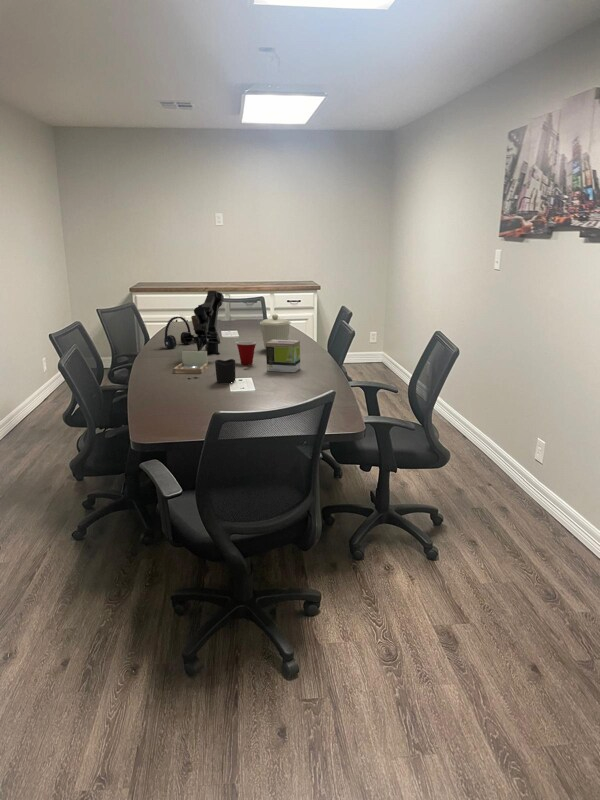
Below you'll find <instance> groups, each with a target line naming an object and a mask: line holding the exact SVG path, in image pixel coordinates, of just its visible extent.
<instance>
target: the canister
mask: <svg viewBox="0 0 600 800" xmlns="http://www.w3.org/2000/svg"><path fill="white" fill-rule="evenodd" d="M291 323H292V322H291V321H290V320H288V319H286V318H280V317H279V315H278V314H272V315H271V318H266V319H262V320H261V321H260V322H259V324H260V328H261V333H262V334H261V335H262V341H263V346H264V347H263V348H264V349H265V350H266V343H267V342H269V341H271V340H289V335H290V325H291Z"/></svg>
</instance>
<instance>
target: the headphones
mask: <svg viewBox="0 0 600 800" xmlns="http://www.w3.org/2000/svg"><path fill="white" fill-rule="evenodd" d="M177 319H181V320H182V321H183V322H184V323H185V325H186V328H187V332H191V328H190V326H189V322H188V321H187V320H186V319H185V318H184V317H182V316H173V317H171V318H170V319H169V320H168V322H167V324H166V326H165V330H164V339H163V343H164V346H165V347H166V348H168V349H171V348H172V349H174V348H176V347H177V339H176V337H175V336H174V335H173V334H172V335H171V334H169V335H168V332H169V327H170V325H171V323H172V322H173V321H174V320H177ZM184 332H185V331H183V332H182V333H180V343H181V344H182V345H190V344H191V342H185V341H184V339H183V337H182V336H183V333H184Z"/></svg>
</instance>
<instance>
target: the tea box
mask: <svg viewBox="0 0 600 800" xmlns="http://www.w3.org/2000/svg"><path fill="white" fill-rule="evenodd" d="M265 355H266V356H265V357H266V358H265V359H266V371H267V372H268V371H269V372H281V373H296V372H298V371H299V370H300V369H301V343H300V340H298V339H297V340H295V339H294V340H292V339H288V340H271V341H269V342H267V343H266V349H265Z"/></svg>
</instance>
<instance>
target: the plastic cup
mask: <svg viewBox="0 0 600 800" xmlns="http://www.w3.org/2000/svg"><path fill="white" fill-rule="evenodd" d="M235 344H236V346H237V350H238V355H239V359H240V363H241V366H251V364H252V365H253V361H254V357H255V356H254V355H255V348H256V346H257V342H255V341H246V340H245V341H244V340H243V341H242V340H241V341H236V342H235Z"/></svg>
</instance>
